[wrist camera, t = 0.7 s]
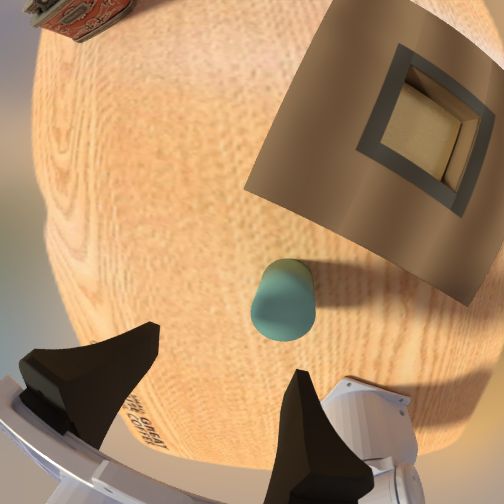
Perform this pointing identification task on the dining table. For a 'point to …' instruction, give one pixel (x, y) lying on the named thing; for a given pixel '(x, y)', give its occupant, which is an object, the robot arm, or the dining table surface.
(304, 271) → the peg
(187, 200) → the dining table surface
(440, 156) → the beige square pad
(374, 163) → the block
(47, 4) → the lighter
